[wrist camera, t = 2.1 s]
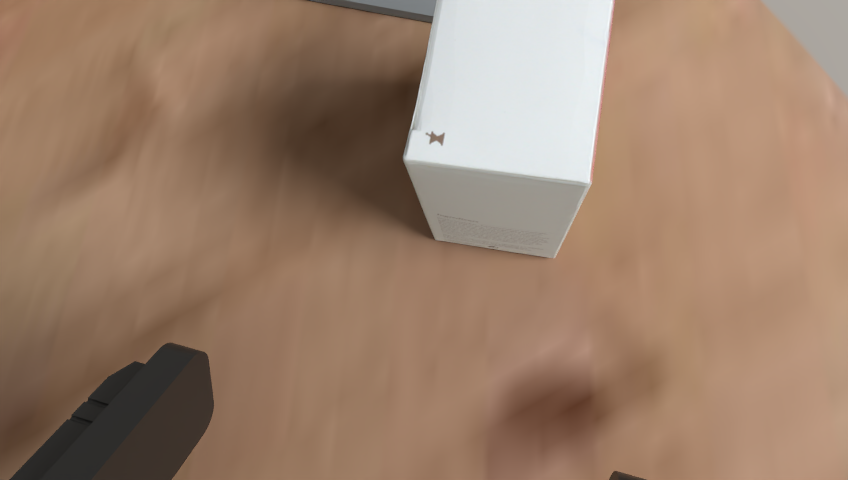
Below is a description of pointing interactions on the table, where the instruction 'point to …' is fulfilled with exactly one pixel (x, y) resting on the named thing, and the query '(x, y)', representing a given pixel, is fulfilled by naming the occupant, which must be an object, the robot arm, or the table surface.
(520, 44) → the small box
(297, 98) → the table surface
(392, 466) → the table surface
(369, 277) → the table surface
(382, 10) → the mat
